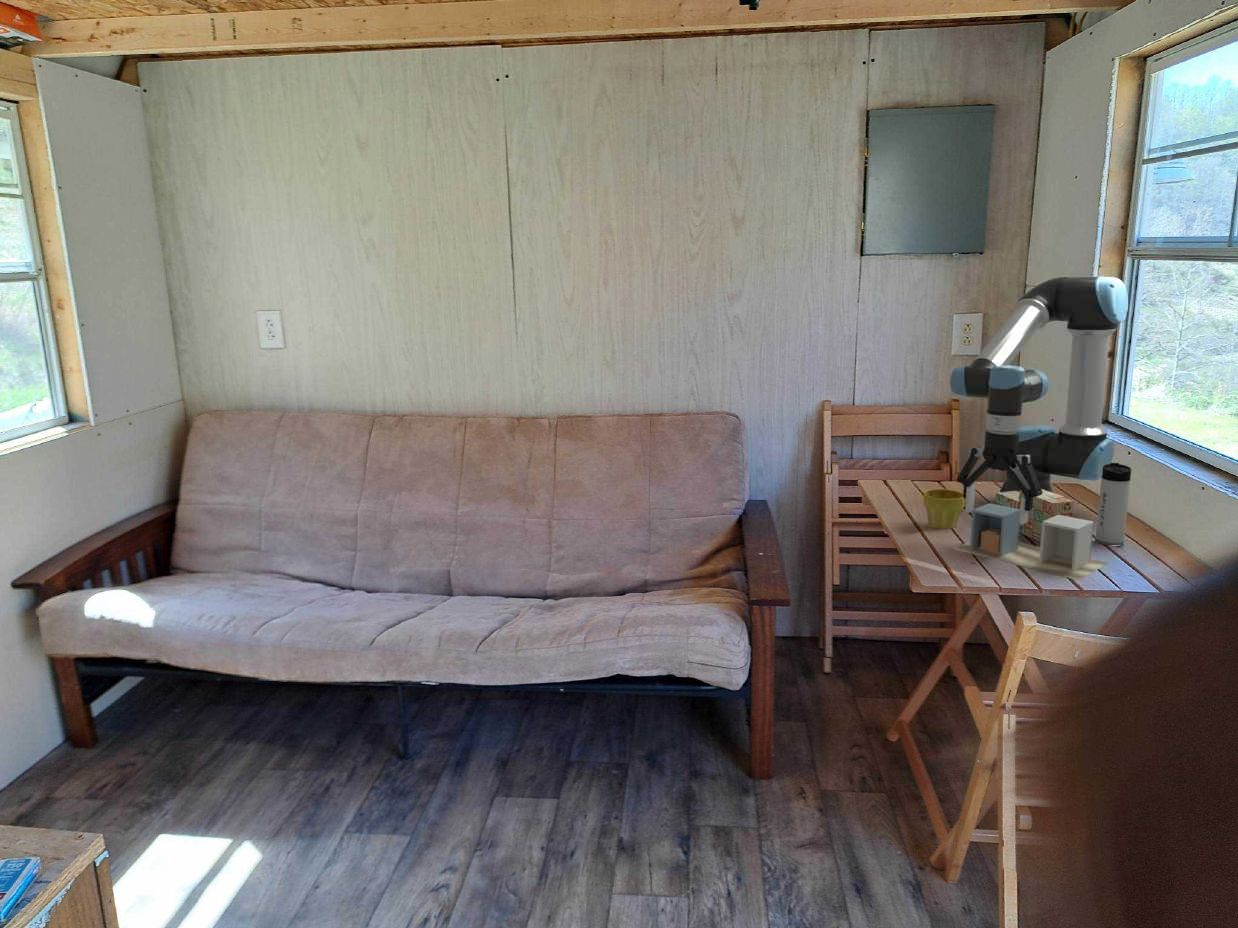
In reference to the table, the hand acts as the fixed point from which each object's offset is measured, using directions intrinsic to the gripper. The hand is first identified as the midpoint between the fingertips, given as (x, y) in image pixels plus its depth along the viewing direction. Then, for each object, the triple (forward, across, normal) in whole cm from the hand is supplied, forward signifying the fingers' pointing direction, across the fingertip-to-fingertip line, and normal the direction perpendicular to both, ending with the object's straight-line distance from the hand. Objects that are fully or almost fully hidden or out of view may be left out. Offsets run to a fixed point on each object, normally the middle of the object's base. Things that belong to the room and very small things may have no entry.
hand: (995, 517), depth 213 cm
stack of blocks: (+9, 0, +20) cm, 22 cm away
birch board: (+9, +8, +2) cm, 12 cm away
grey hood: (+8, +16, +2) cm, 18 cm away
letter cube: (+8, 0, 0) cm, 8 cm away
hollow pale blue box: (+8, 0, 0) cm, 8 cm away
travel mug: (+9, +16, +28) cm, 33 cm away
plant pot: (+9, -19, +10) cm, 23 cm away
